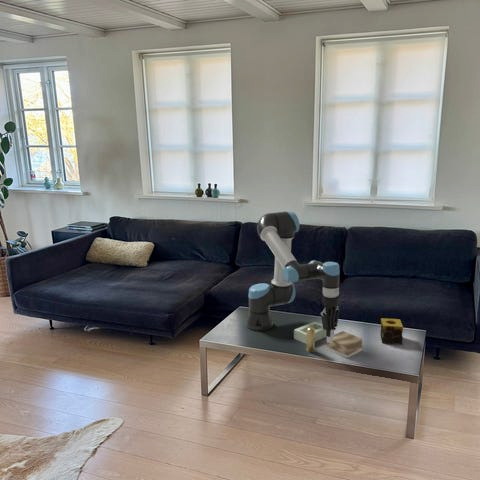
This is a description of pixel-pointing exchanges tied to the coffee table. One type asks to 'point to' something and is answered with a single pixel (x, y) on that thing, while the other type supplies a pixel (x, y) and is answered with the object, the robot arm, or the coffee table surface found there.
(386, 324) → the candle
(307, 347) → the peg
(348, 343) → the tan layered block
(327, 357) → the coffee table surface
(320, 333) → the socket board
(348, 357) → the board
